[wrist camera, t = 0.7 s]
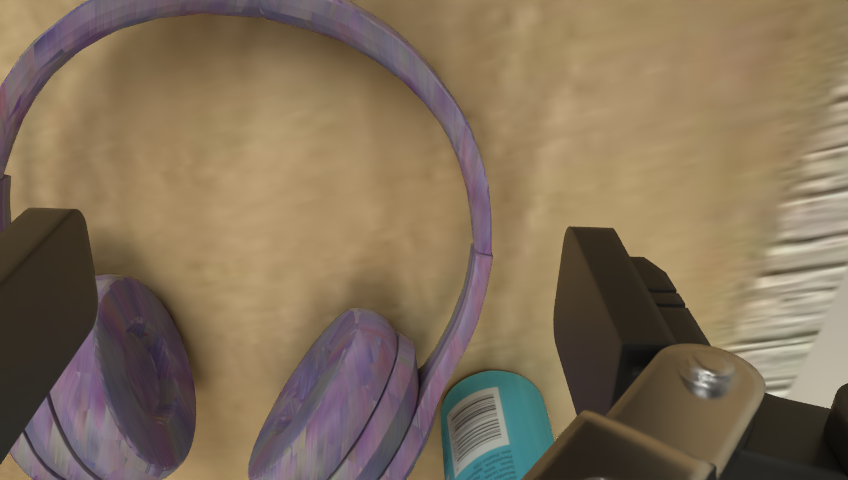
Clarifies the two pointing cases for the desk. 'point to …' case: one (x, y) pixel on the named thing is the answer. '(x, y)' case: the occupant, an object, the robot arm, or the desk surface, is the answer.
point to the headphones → (162, 345)
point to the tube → (493, 427)
